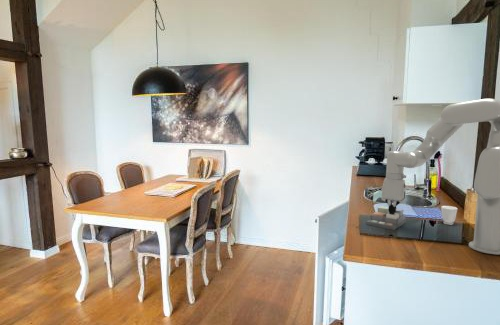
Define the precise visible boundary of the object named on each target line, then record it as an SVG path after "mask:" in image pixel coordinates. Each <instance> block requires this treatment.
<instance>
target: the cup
mask: <svg viewBox="0 0 500 325" xmlns="http://www.w3.org/2000/svg"><path fill="white" fill-rule="evenodd" d="M440 209H441V217H442V221H443V222H442V223H443V224H444V225H451V226H452V225H454V222H455V221H456V218H457V214H458V213H457V212H458V208H457V207H456V206H451V205H441V206H440Z"/></svg>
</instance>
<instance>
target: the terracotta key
mask: <svg viewBox="0 0 500 325" xmlns="http://www.w3.org/2000/svg"><path fill="white" fill-rule="evenodd" d="M372 214H373V215H374V216H380V217H384V216H386V213H381V212H378V211H375V212H373V213H372Z"/></svg>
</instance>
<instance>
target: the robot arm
mask: <svg viewBox="0 0 500 325" xmlns="http://www.w3.org/2000/svg"><path fill="white" fill-rule="evenodd" d="M482 122H489V123H490V125H491V126H490V131H489V135H488V140H487V145H486V148H484V149H483V150H482V152H480V155H479V157H478V161H477V167H476V172H475V176H474V181H473V189H474V191H475V193H476V194H477V197H476V206H475V220H474V221H475V222H474V232H473V240H472V241H470V242H468V247H469V248H470V249H472V250H474V251H476V252H479V253H484V254H489V255H498V256H499V255H500V100H499V99H496V98H482V99H476V100H470V101H463V102H457V103H456V102H455V103H450V104H449V105H447V106H445V107H444V108H443V109H442V111H441V114H440V117H439V119H437V121H435V122H434V123H433V124H432V125H431V126H430V127H429V128H428V129H427V130H426V134H425V138H424V139H423V141H422V142H421V143H420V144H419V145H418V147H416V148H415V149H414V150H413V151H406V152H405V151H401V150H389V151H388V152H387V156H386V170H385V178H384V179H383V184H382V188H381V191H382V198H380V200H381V201H383V202H386V204H387V207H389V214H392V215H393V214H395V213H396V208H397V206H398V205H402V204H405V203H406V201H405V200H406V197H407V196H406V195H407V194H406V193H407V191H406V190H407V188H406V180H405V179H406V178H407V174H404V168H406V169H414V168H415V169H416V168H418V167H422V166H423V165H425V163H426V162H428V161H429V160H430V159H431V158H432V157H433V156H434V155H435V154H436V153H437V152H438V151H439V150H440V148H442V146H443V145H444V144H445V143H446V142H447V141H448V140H449V139H450V138H451V137H452V136H453V135H454V134H455V133H456V132H457V131H458V130H459V129H460V128H461V127H463V125H464V124H465V125H466V124H472V123H473V124H475V123H482Z"/></svg>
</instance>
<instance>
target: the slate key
mask: <svg viewBox="0 0 500 325" xmlns="http://www.w3.org/2000/svg"><path fill="white" fill-rule="evenodd" d="M396 213H397V214H399V217H401V216H403V214H404V209H403V208H397V207H396Z"/></svg>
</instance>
